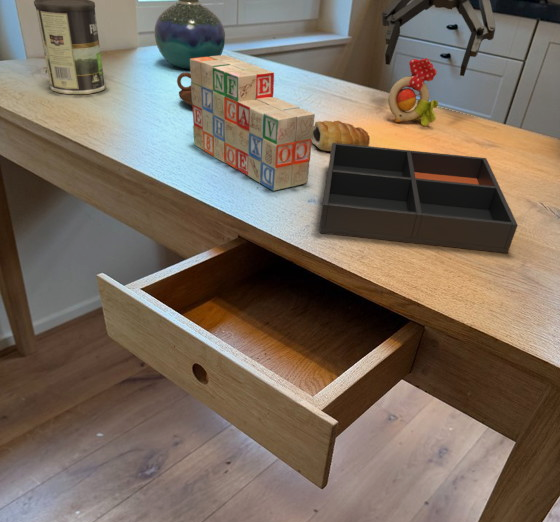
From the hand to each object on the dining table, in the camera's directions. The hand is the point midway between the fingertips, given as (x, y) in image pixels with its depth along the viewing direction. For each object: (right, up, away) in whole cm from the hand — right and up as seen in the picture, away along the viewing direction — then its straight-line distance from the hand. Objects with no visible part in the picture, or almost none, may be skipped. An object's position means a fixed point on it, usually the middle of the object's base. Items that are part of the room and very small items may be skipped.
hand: (424, 65), depth 101 cm
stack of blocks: (-31, -24, -17) cm, 43 cm away
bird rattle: (-2, -9, +3) cm, 10 cm away
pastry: (-17, -18, -9) cm, 26 cm away
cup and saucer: (-39, -5, +5) cm, 39 cm away
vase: (-46, +15, +27) cm, 55 cm away
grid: (-9, -33, -26) cm, 43 cm away
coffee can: (-65, 0, +8) cm, 65 cm away
